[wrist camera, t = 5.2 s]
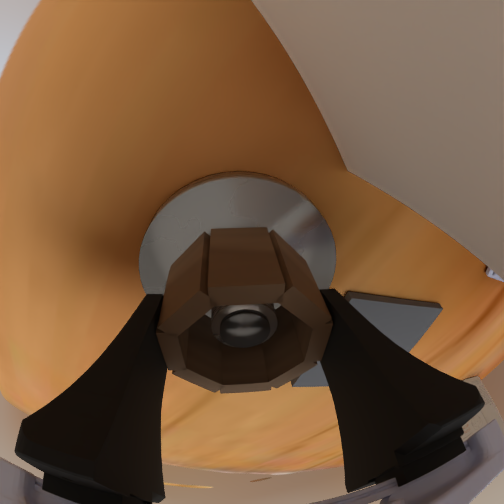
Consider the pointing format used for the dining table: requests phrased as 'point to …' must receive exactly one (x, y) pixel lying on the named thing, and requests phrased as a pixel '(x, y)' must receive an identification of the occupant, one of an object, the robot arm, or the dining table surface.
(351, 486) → the robot arm
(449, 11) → the milk
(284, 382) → the ring
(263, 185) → the hub
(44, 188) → the dining table surface
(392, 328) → the mat
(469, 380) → the small box
